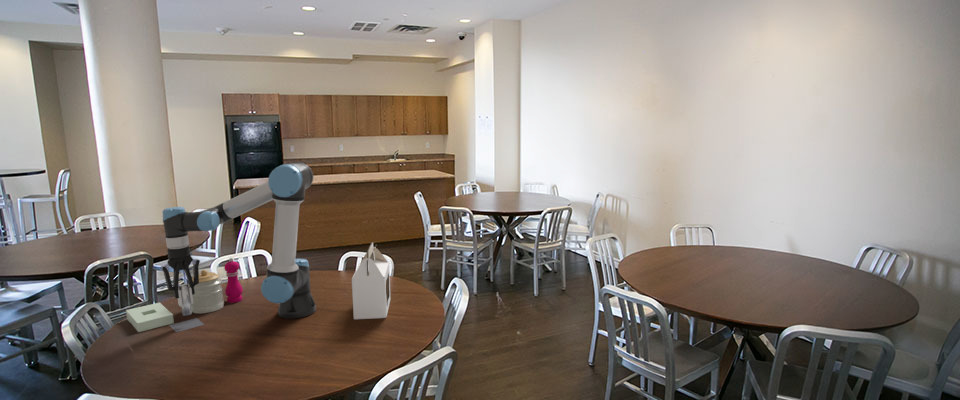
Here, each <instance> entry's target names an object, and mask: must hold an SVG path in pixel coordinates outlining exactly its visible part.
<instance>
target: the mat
mask: <svg viewBox="0 0 960 400" xmlns="http://www.w3.org/2000/svg"><path fill="white" fill-rule="evenodd" d="M204 325H205V324H204V322H202V321H201V320H200V319H199V318H198V317H195V318H191V319H187V320H183V321H180V322H176V323H175V322H174V323H172V324H169V325H168V326H169V327H170V328H171V329H172V330H173V331H174V332H175V333H180V332H183V331H186V330H187V331H188V330H190V329H194V328H197V327H200V326H201V327H202V326H204Z"/></svg>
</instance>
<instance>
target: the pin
mask: <svg viewBox="0 0 960 400" xmlns="http://www.w3.org/2000/svg"><path fill="white" fill-rule="evenodd" d="M188 284H189V283H182V284H178V289H179V290H181V297H182V304H183V306H181V307H180V308H181V312H182V316H184V317H185V316H190V315H192V314H193V312H192V310H191V303H190V295H189V287H188Z"/></svg>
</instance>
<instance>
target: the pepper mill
mask: <svg viewBox="0 0 960 400" xmlns="http://www.w3.org/2000/svg"><path fill="white" fill-rule="evenodd" d="M223 269H224V271H225V274H226V277H227V283H226V287H225V290H224V294H225V295H226V302H227V303H229V304H230V303H231V304H234V303H238V302H241V301H242V300H243V295H242V294H243V292H244V290H243V286H242V285H241V283H240V281H239V277H238V275H239V274H240V273H239V269H240V264H239V262H238V261H234V258H233V257H230V258H228V261H227V262H226V263H225V264H224V268H223Z"/></svg>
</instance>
